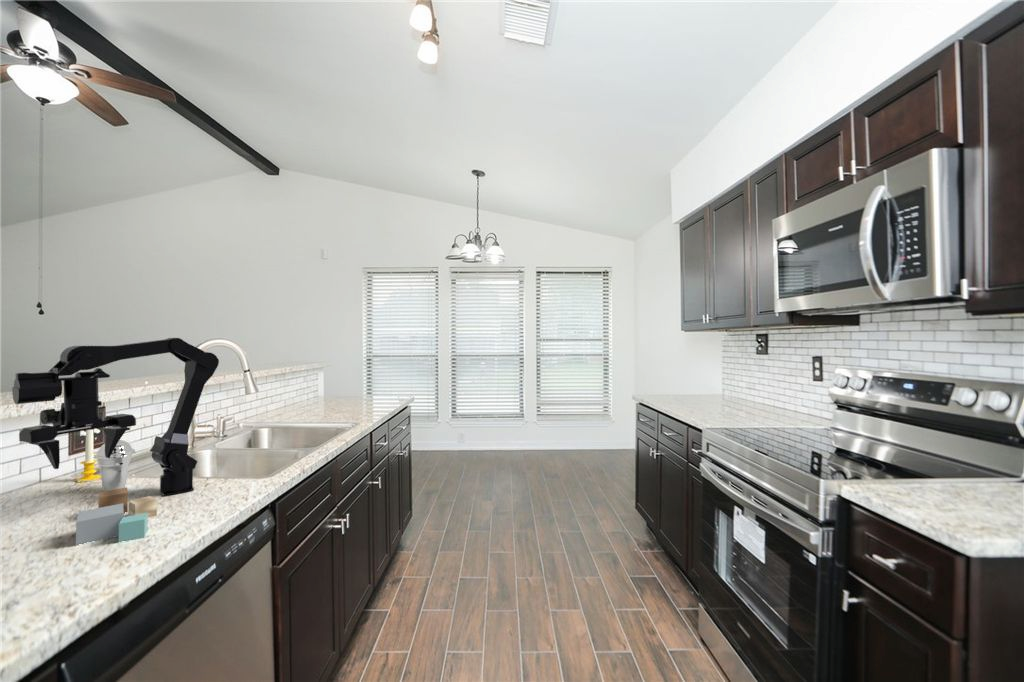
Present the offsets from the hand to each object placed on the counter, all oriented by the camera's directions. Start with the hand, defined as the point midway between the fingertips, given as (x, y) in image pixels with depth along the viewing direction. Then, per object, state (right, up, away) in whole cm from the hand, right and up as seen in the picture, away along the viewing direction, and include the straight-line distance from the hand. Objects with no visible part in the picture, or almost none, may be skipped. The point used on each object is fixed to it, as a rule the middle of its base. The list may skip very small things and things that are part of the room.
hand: (83, 462), depth 98 cm
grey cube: (+14, -13, -10) cm, 22 cm away
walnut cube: (+6, -13, +1) cm, 14 cm away
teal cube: (+22, -13, -11) cm, 28 cm away
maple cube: (+15, -13, -1) cm, 20 cm away
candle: (-24, -13, +25) cm, 37 cm away
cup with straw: (-9, -13, +17) cm, 23 cm away
